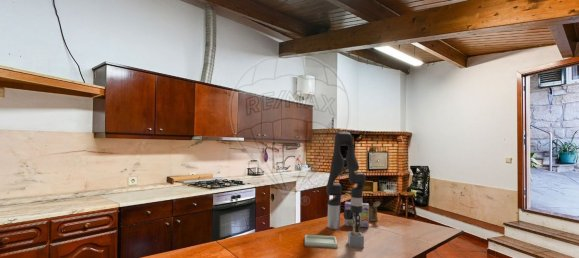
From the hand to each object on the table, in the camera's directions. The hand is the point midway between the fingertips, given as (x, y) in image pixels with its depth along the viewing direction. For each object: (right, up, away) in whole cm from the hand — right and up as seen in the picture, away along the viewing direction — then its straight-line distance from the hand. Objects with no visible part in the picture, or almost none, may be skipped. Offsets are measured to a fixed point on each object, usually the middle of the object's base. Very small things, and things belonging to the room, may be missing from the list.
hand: (355, 230), depth 187 cm
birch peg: (0, -9, 0) cm, 9 cm away
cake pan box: (+10, -11, +42) cm, 45 cm away
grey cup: (0, -9, 0) cm, 9 cm away
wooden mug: (+28, -12, +58) cm, 66 cm away
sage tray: (-22, -9, +1) cm, 24 cm away
